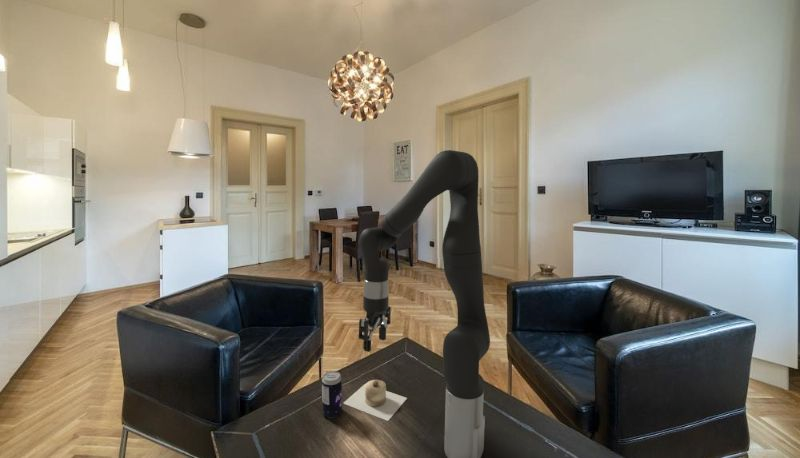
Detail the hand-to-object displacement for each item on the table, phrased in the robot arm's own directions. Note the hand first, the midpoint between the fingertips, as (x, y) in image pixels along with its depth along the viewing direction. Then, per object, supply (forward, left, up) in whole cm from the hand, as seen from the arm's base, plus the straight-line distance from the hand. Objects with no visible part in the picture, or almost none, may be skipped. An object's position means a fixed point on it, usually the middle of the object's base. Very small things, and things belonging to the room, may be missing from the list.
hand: (375, 345), depth 102 cm
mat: (0, 0, -19) cm, 19 cm away
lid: (0, 0, -18) cm, 18 cm away
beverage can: (+8, +11, -19) cm, 23 cm away
